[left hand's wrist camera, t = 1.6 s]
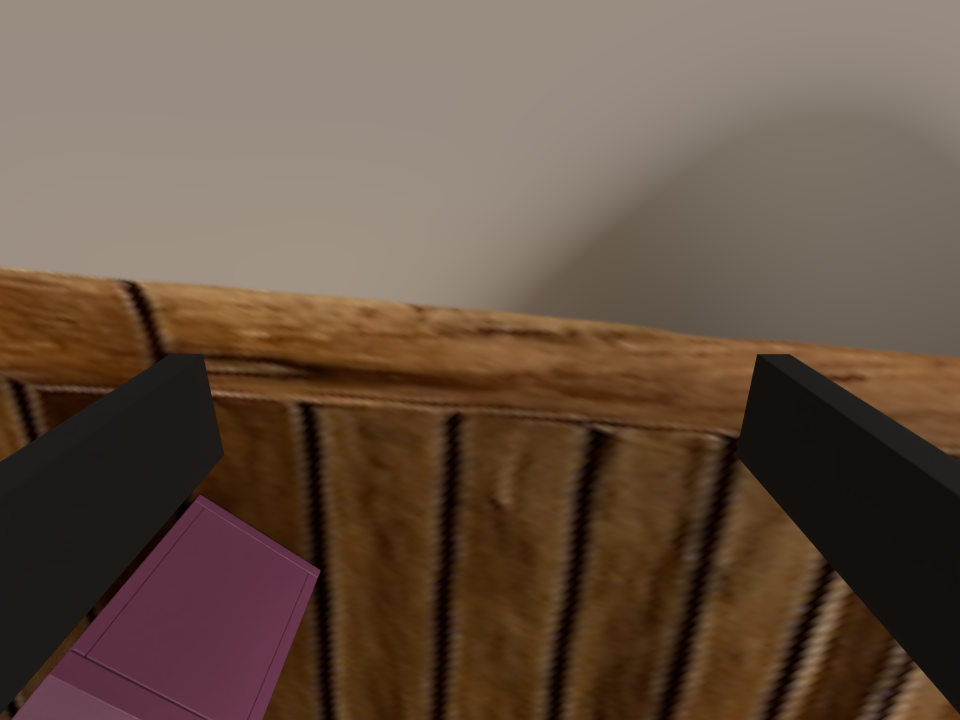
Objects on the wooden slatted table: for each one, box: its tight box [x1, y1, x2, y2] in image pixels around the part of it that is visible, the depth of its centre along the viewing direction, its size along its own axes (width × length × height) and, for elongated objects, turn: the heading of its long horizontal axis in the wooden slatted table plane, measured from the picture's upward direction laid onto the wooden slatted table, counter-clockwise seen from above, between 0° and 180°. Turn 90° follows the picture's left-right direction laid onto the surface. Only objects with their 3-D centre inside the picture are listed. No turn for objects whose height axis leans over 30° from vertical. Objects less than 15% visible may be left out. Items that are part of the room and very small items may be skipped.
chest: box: [68, 495, 320, 720], centre depth 30 cm, size 13×9×11 cm
